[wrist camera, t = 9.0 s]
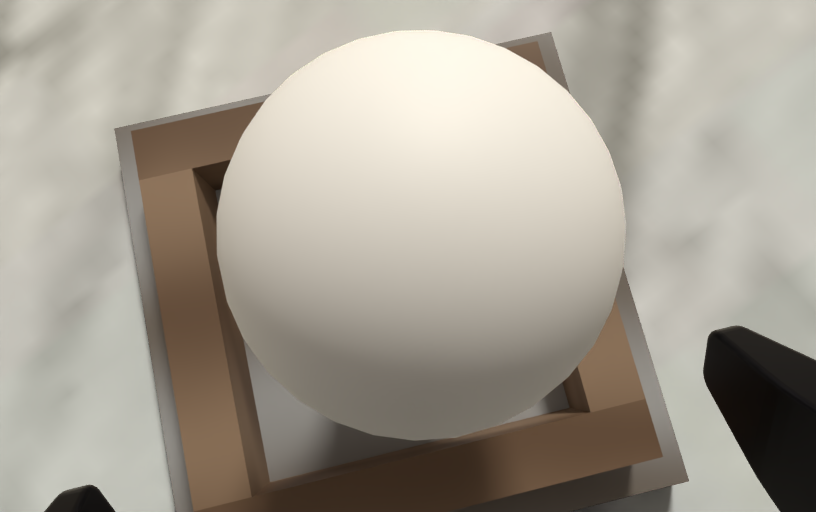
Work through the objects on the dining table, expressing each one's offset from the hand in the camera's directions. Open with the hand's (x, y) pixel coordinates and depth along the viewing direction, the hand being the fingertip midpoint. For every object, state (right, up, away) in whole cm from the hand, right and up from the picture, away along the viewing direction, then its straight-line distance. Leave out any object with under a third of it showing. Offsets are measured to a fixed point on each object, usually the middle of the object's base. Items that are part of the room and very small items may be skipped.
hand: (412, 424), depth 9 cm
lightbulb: (0, +1, +9) cm, 9 cm away
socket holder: (-1, +1, +10) cm, 10 cm away
